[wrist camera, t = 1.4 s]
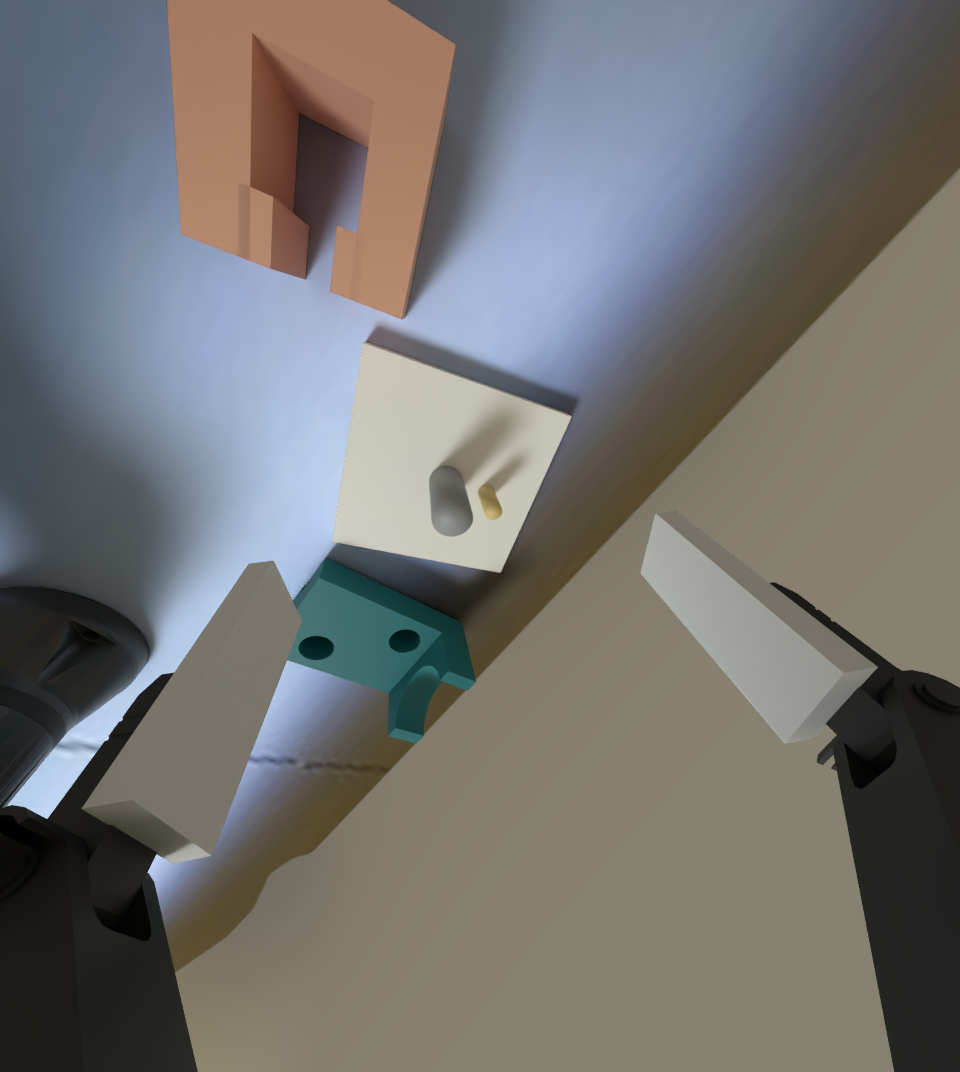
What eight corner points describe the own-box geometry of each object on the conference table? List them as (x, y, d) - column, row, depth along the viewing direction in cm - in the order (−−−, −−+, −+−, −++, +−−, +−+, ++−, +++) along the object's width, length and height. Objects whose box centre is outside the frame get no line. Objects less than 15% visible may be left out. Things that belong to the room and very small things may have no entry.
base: (334, 533, 35) (314, 588, 28) (365, 341, 27) (346, 351, 20) (497, 564, 41) (514, 617, 34) (565, 412, 32) (607, 440, 25)
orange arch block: (241, 0, 18) (157, -150, 12) (445, 117, 21) (455, 44, 16) (240, 254, 23) (181, 234, 17) (404, 317, 26) (401, 319, 21)
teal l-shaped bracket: (460, 615, 45) (476, 681, 36) (412, 668, 48) (416, 743, 39) (328, 550, 37) (306, 615, 28) (279, 619, 40) (246, 699, 31)
